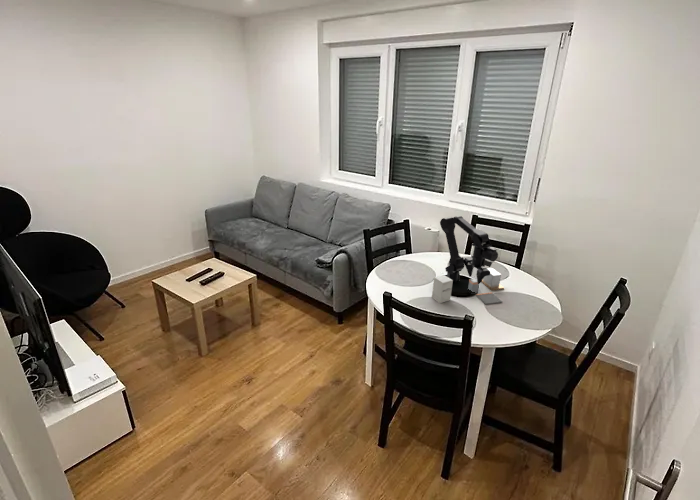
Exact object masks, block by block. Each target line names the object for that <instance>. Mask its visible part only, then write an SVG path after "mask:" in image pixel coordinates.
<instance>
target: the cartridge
mask: <svg viewBox="0 0 700 500" xmlns="http://www.w3.org/2000/svg"><path fill="white" fill-rule="evenodd" d="M479 286H480V284H478V282H477V278H469V279H468V286H467V287H468V288H467V290H468V289H469V290H471V291H472V292H475V293H474V294H479V288H480V287H479Z"/></svg>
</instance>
